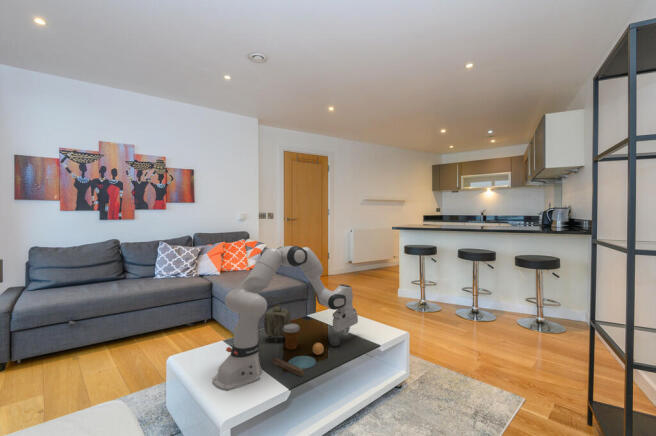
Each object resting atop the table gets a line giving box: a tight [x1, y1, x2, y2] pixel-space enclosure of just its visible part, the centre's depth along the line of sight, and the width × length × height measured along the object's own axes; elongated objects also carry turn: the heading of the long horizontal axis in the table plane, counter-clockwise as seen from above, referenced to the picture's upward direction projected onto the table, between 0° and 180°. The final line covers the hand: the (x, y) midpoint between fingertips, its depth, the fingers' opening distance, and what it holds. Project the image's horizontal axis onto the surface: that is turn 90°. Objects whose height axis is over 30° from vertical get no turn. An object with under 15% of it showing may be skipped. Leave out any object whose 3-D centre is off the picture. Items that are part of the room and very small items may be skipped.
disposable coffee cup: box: [283, 323, 301, 350], centre depth 178 cm, size 10×10×12 cm
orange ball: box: [312, 342, 325, 356], centre depth 168 cm, size 6×6×6 cm
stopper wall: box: [272, 357, 305, 377], centre depth 152 cm, size 2×20×2 cm, turn 48°
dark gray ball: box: [329, 334, 341, 347], centre depth 179 cm, size 6×6×6 cm
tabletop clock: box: [263, 298, 292, 343], centre depth 188 cm, size 14×9×25 cm, turn 84°
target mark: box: [287, 355, 317, 370], centre depth 159 cm, size 14×14×1 cm
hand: (346, 334), depth 187 cm, fingers closed
